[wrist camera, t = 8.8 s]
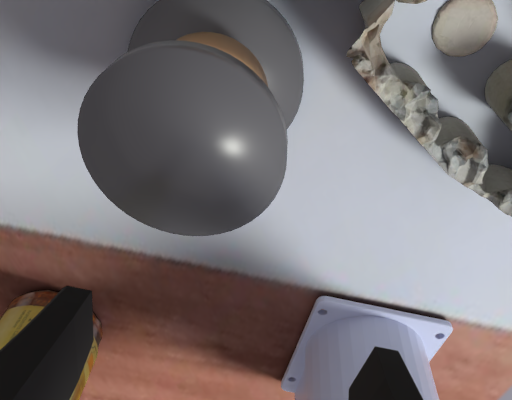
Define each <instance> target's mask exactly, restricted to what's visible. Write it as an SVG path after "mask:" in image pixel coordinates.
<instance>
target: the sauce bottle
mask: <svg viewBox="0 0 512 400" xmlns="http://www.w3.org/2000/svg"><path fill="white" fill-rule="evenodd" d="M58 293H59V292H54V291H50V290H45V291H35V292H31V293H27V294H24V295H21V296H19V297H17V298H15V299H14V300H13V301H12V303H11V304H10V305H9V306H8V309H7V310H6V311H5V313H4V314H3V316H0V350H1V349H2V348H3V347H4V346H5V345H6V344H7V343H8V342H9V341H10V340H11V339H12V338H14V337H15V336H16V335H17V334H18V333H19V332H20V331H21V330H22V329H23V328H24V327H25V326H26V325H27V324H28V323H29V322H30V321H31V320H32V319H33V318H34V317H35V316H36V315H37V314H38V313H39V312H40V311H41V310H42V309H43V308H44V307H45V306H46V305H47V304H48V303H49V302H50V301H51V300H52V299H53V298H54V297H55V296H56V295H57V294H58ZM93 337H94V341H93V344H92V347H91V349H90V352H89V355H88V358H87V360H86V363H85V366H84V368H83V371H82V373H81V376H80V379H79V381H78V383H77V385H76V387H75V389H74V392H73V394H72V396H71V398H70V400H79V398H80V396H81V394H82V391H83V389H84V387H85V384H86V382H87V379H88V377H89V375H90V372H91V370H92V367H93V365H94V363H95V360H96V358H97V354H98V346H99V343H100V341H101V339H102V326H101V323H100V321H99V320H98V319H97V318H96V316H95V314H94V313H93Z"/></svg>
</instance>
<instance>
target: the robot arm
mask: <svg viewBox="0 0 512 400" xmlns="http://www.w3.org/2000/svg"><path fill="white" fill-rule="evenodd" d="M321 309H324V310H321ZM452 330H453V328H452V325H451V323H450V322H449V321H446V320H441V319H436V318H432V317H427V316H422V315H417V314H412V313H407V312H402V311H398V310H393V309H388V308H383V307H378V306H373V305H368V304H364V303H359V302H354V301H349V300H344V299H339V298H334V297H329V296H321V297H319V298H318V299H317V300H316V302H315V304H314V307H313V309H312V311H311V314H310V316H309V318H308V321H307V323H306V325H305V328H304V330H303V332H302V335H301V337H300V339H299V341H298V344H297V346H296V348H295V351H294V353H293V355H292V358H291V360H290V362H289V365H288V367H287V369H286V372H285V374H284V376H283V379H282V381H281V388H282V389H283V390H285V391H289V392H294V393H295V400H439V398H438V394H437V390H436V387H435V383H434V379H433V376H432V372H431V368H430V365H429V361H430V360H431V359H432V357H433V356H434V355H435V354H436V352H437V351H438V350H439V348H440V347H441V346H442V344H443V343H444V342H445V340H446V339H447V338H448V336H449V335H450V334H451V332H452ZM93 341H94V337H93V309H92V291H90V290H85V289H80V288H75V287H70V286H66V287H64V288H62V289H61V290H60V292H59V293H58V294H57V295H56V296H55V297H54V298H53V299H52V300H51V301H50V302H49V303H48V304H47V305H46V306H45V307H44V308H43V309H42V310H41V311H40V312H39V313H38V314H37V315H36V316H35V317H34V318H33V319H32V320H31V321H30V322H29V323H28V324H27V325H26V326H25V327H24V328H23V329H22V330H21V331H20V332H19V333H18V334H17V335H16V336H15V337H14V338H12V339H11V340H10V341H9V342H8V343H7V344H6V345H5V346H4V347H3V348H2V349H1V350H0V400H70V398H71V396H72V394H73V392H74V389H75V387H76V385H77V383H78V381H79V379H80V376H81V373H82V371H83V368H84V366H85V363H86V360H87V358H88V355H89V352H90V349H91V347H92V344H93Z"/></svg>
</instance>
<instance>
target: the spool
mask: <svg viewBox="0 0 512 400" xmlns="http://www.w3.org/2000/svg"><path fill="white" fill-rule="evenodd" d="M303 81H304V78H303V61H302V56H301V51H300V48H299V45H298V42H297V39H296V37H295V35H294V33H293V31H292V29H291V27H290V26H289V24H288V23H287V21H286V20H285V19H284V17H283V16H282V15H281V14H280V13H279V12H278V10H277V9H276V8H275V7H273V6H272V5H271V4H270V3H269V2H268V1H266V0H159V1H158V2H157V3H156V4H154V5H153V6H152V7H151V8H150V9H149V10H148V11H147V12H146V13H145V15H144V16H143V17H142V18H141V20H140V21H139V23H138V25H137V27H136V28H135V30H134V33H133V35H132V38H131V40H130V44H129V48H128V52H127V53H126V54H124V55H123V56H121V57H120V58H118V59H117V60H116V61H115V62H114V63H113V64H111V65H110V66H109V67H108V68H107V69H106V70H105V71H104V72H103V73H102V74H101V75H99V76H98V78H97V79H96V80H95V81H94V83H93V84H92V85H91V86H90V88H89V90H88V92H87V93H86V95H85V97H84V100H83V102H82V105H81V108H80V113H79V118H78V140H79V147H80V151H81V154H82V158H83V160H84V163H85V165H86V168H87V170H88V171H89V173H90V175H91V177H92V179H93V180H94V182H95V183H96V184H97V186H98V187H99V189H100V190H101V191H102V192H103V193H104V194H105V195H106V197H107V198H108V199H109V200H110V201H112V202H113V203H114V204H115V205H116V206H117V207H118V208H120V209H121V210H122V211H124V212H125V213H126V214H128V215H129V216H131V217H133V218H134V219H136V220H138V221H140V222H142V223H144V224H146V225H148V226H150V227H153V228H156V229H159V230H161V231H165V232H169V233H173V234H179V235H187V236H208V235H215V234H221V233H224V232H228V231H232V230H234V229H237V228H239V227H241V226H243V225H245V224H247V223H249V222H251V221H252V220H253V219H255V218H256V217H257V216H259V215H260V214H261V213H262V212H263V211H264V210H265V209H266V208H267V207H268V206H269V205H270V203H271V202H272V201H273V200H274V198H275V196H276V195H277V193H278V191H279V189H280V187H281V184H282V182H283V179H284V175H285V170H286V161H287V142H288V141H287V128H288V127H289V126H290V124H291V123H292V121H293V119H294V117H295V115H296V113H297V111H298V108H299V105H300V102H301V98H302V93H303Z"/></svg>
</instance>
